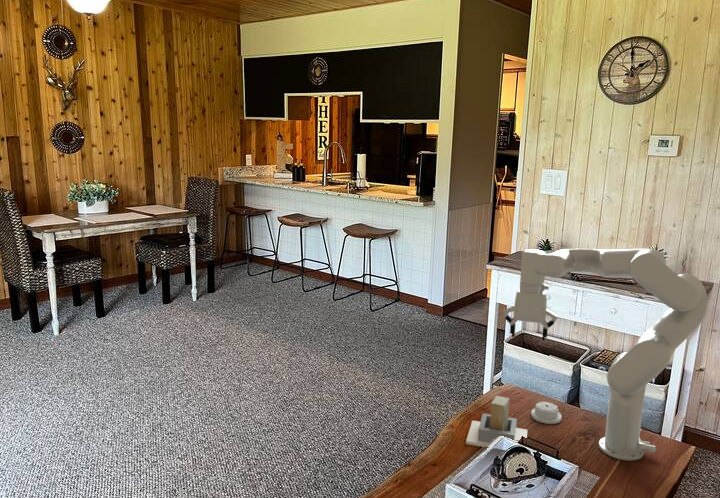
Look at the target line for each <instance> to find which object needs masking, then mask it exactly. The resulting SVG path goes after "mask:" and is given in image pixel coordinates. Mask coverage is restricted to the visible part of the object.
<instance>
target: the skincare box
mask: <svg viewBox="0 0 720 498" xmlns="http://www.w3.org/2000/svg"><path fill="white" fill-rule="evenodd" d="M509 408H510V398H509V397H505V396H500V395H496V396H495V397H494V398H493V400H492V401H491V404H490V414H491V419H490V429H495V430H501V431H507V428H508V417H509V410H510V409H509Z"/></svg>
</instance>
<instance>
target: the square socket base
mask: <svg viewBox="0 0 720 498" xmlns="http://www.w3.org/2000/svg"><path fill="white" fill-rule="evenodd" d="M490 419H491V413H490V414H489V413H484V412H483V413H482V415H481V418H480V421H478V420H471V424H470V428H469V430H468V434H467V437H466V441H465V445H470V446H475V447H476V446H477V447H480V446H481V447H482V448H485V447H484V446H486V445H487V444H489V443H490V442H491V441H492V440H493V439H495V438H496V437H499V436H504V437H507V438H510V439H512V440H518V441H519V440H520V439H521V437H522V436H523V437H525V438H527V439H528V429H525V428H520V427H517V423H518V422H517V421H518V420H517V419H518V418H514V417H510V416H508V428H507V431H501V430H495V429H490Z"/></svg>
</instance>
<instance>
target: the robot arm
mask: <svg viewBox="0 0 720 498" xmlns="http://www.w3.org/2000/svg"><path fill="white" fill-rule="evenodd" d="M666 264H667V263H666V259H665V256H664V254H663V253H662V252H661V251H660V250H657V249H653V248H631V249H630V248H628V249H626V248H625V249H621V248H620V249H616V248H615V249H603V248H602V249H600V248H599V249H598V248H596V249H595V248H563V249H558V250H555V251H554V252H551V253H546V252H545V251H544V250H540V249H533V248H529V249H525V250H524V251H522V254H521V265H520V277H519V278H520V280H519V288H518V289H517V290H516V294H515V298H514V299H515V301H514V306H511V307H508V308H505V309H503V310H502V314H503V317H504V319H505V320H506V322H507V323H509V325H510V327H509V333H510V335H511V337H512V338H514V337H515V333H516V322H527V323H535V324H541V325H542V326H543V327H542V336H541V337H542V338H541V339H542V341H545V338H547V339H548V329H549V328H551V327H552V326H554V324H555V322H556V321H557V320H558V317H559V316H558V314H555V313H554V312H552V311H551V310H549V309H547V305H548V304H547V303H548V301H547V292H546V290H549V287H550V286H549V285H547V284H546V283H545V281H546V279H545V278H546V277H549V278H561V277H563V276H564V275H566V274H567V273H570V272H572V273H573V272H579V273H580V272H582V273H583V272H585V273H594V274H597V275H599V276H600V277H602V278H606V279H611V278H612V279H620V278H621V279H623V278H624V279H628V278H629V279H634V280H635V281H636V282H637V283H638V284H639V285H640V286H641V287H642V288H643V289H645V290H646V291H647V292H649V293H650V294H651V295H652V296H654V298H656V299H657V300H659V301H660V302H661V303H663V304H664V305H666V306H667V307H668V310H667V311H665V313H664V314H662V315H661V317H660V318H659V319H658V320H657V321H656V322H655V323H653V324H652V325H651V326H650V327H649V328H648V329H647V330H646V331H644V332H643V333H641V335H640V336H638V339H637V340H636V341H635V343H634V344H633V346H632V347H630V349H629V350H628V351H623V352H621V353H619V354H618V355H617V356H616V357H615V358H614V360H613V361H612V363H611V365H610V366H609V369H608V370H607V374H606V380H607V384H608V386H609V397H608V403H607V404H608V406H607V416H606V422H605V423H606V425H605V434H604V437H602V438H600V439H599V440H598V447H599V449H600V450H601V451H602V452H603V453H604V454H606V455H608V456H609V457H611V458H614V459H617V460H622V461H637V460H640V459H642V458H643V456H644V451H647V452H651V453H656V452H657V451H656V450H657V448H656V447H657V446H656V445H653V444H651V441H647V440H642V439H641V438H640V436H641V427H642V417H643V411H644V410H643V408H644V403H645V402H644V401H645V394H646V388H647V387H646V386H647V385H648V384H649V383H650V382H651V381H652V380H654V379H655V378H656V377H657V376H658V375H660V373H661V372H662V371H663V370H664V369H666V367H667V366H668V365H669V363H670V361H671V359H672V356H673V354H674V352H675V350H676V349H677V348H678V347H679V346H680V345H682V344H683V343H684V342H685V341H686V340H687V339H688V338H689V336H691V335H692V334H693V333H694V332H695V331H696V330H697V328H698V327H699V326H700V324H701V323H702V322H703V320H704V318H705V315H706V314H707V308H708V297H707V296H708V295H707V292H706V289H705V287H704V284H703V283H702V281H701V280H700V279H699V278H698V277H696V276H695V275H693V274H689V273H682V274H678V273H676V272H675V271H674V270H672V269H671V268H669V267H668V266H667V265H666ZM512 312H513V317H511V316H510V315H509V313H512ZM547 316H549V317H550V318H551V319H550V320H549V321H548V322H547V320H546V318H547Z"/></svg>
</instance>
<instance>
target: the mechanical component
mask: <svg viewBox="0 0 720 498" xmlns="http://www.w3.org/2000/svg"><path fill="white" fill-rule="evenodd" d="M531 417H532V419H533V420H535V421H537V422H539V423H543V424H547V425H554V424H559V423H560V422H561V421H562V414H561V413H560V412H559V407H558V405H556V404H554V403H553V402H548V401H540V402H537V403H536V404H535V408H533V409H531Z"/></svg>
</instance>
